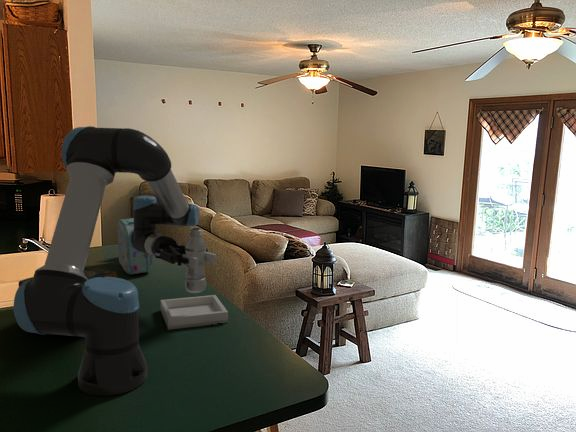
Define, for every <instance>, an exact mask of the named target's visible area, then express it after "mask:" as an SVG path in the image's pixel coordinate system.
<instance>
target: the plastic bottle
mask: <svg viewBox="0 0 576 432" xmlns="http://www.w3.org/2000/svg"><path fill="white" fill-rule="evenodd" d="M202 235H203V229H202V228H201V227H191V228H190V229H189V238H187V240H186V242H185V243H184V245H185V252H186V255H188V256H191V257H194V258H197V259H198V268H194V267H192V266H189V265H186V273H185V274H186V275H185V279H184V287H185V288H184V289H185V290H186V292H188V293H191V294H198V293H203V292H204V291H206V288H207V278H206V273H205V271H206V270H205V263H206V261H205V253H206V249H207V244H206V241H205V240H204V238H203V236H202Z"/></svg>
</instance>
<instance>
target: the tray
mask: <svg viewBox="0 0 576 432" xmlns="http://www.w3.org/2000/svg"><path fill="white" fill-rule="evenodd" d="M160 312H161V315H162V318H163V321H164V324H165V325H166V328H167V330H178V329H186V328H187V329H188V328H194V327H203V326H204V327H205V326H211V324H213V325H218V324H217V323H222V324H226V323H225V322H228V323H229V311H228V310H227V309H226V307H225V306H224V304H223V303H222V301H220V299H219V298H218V296H217V295H216V294H210V295H202V296H191V297H189V296H188V297H180V298H169V299H160Z"/></svg>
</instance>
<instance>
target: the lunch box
mask: <svg viewBox="0 0 576 432" xmlns="http://www.w3.org/2000/svg"><path fill="white" fill-rule="evenodd" d="M133 230H134V218H133V217H132V218H130V217H129V218H125V219H124V218H123V219H122V218H121V219H119V220H118V222H117V241H118V243H117V244H118V263H119V264H120V266H121V267H122V270H124V272H126V274H127V275H137V274H143V273H150V272H151V267H152V265H153V256H152V255H149V254H147V253H144V252H140V251H137V250H136V249H134V248H132V247H131V246H130V245H129V243H128V237H129V235H130V233H131V231H133Z"/></svg>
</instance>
